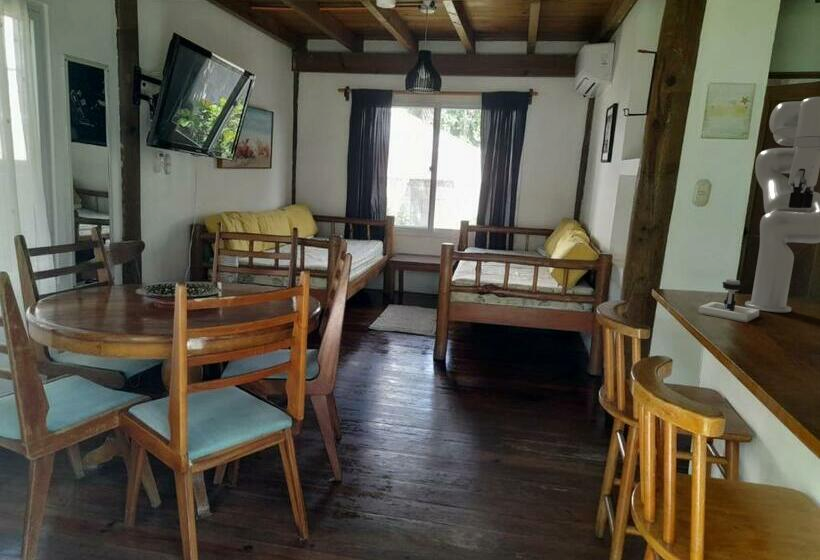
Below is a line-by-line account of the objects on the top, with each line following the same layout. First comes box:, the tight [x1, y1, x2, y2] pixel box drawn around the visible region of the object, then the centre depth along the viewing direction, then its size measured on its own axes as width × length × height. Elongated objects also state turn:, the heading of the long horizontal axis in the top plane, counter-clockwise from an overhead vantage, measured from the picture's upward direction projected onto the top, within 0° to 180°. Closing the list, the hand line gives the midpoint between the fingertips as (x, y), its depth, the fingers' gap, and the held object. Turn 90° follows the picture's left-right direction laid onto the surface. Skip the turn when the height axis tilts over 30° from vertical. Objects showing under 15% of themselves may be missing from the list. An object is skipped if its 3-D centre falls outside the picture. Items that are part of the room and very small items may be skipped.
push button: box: [722, 278, 744, 311], centre depth 159 cm, size 7×5×10 cm
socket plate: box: [697, 301, 760, 323], centre depth 161 cm, size 12×13×2 cm
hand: (799, 207), depth 147 cm, fingers open, 9 cm apart
